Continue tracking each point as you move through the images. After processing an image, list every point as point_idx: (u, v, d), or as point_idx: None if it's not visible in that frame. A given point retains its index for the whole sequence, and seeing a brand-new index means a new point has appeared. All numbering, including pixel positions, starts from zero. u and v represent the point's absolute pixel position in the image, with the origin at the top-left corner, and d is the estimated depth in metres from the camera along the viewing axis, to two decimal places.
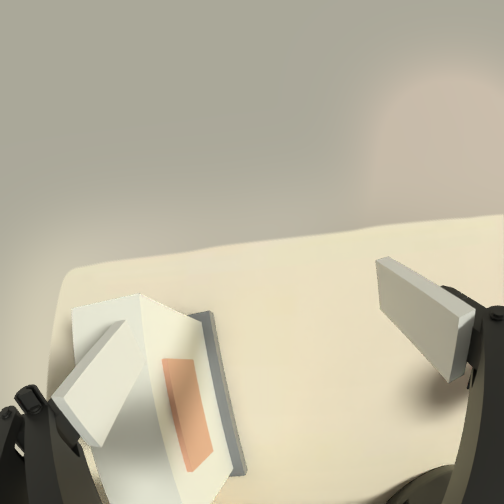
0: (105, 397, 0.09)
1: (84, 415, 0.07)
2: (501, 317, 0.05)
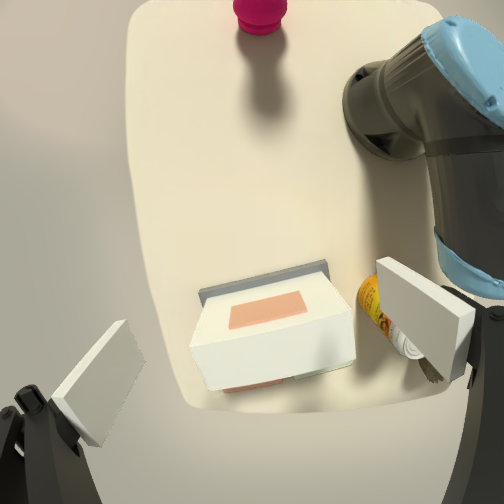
0: (105, 397, 0.09)
1: (84, 415, 0.07)
2: (501, 317, 0.05)
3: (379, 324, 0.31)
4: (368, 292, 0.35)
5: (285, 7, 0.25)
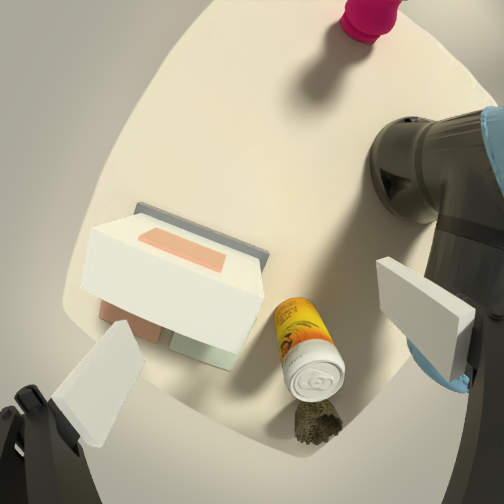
0: (105, 397, 0.09)
1: (84, 415, 0.07)
2: (501, 317, 0.05)
3: (281, 343, 0.29)
4: (288, 309, 0.34)
5: (388, 28, 0.24)
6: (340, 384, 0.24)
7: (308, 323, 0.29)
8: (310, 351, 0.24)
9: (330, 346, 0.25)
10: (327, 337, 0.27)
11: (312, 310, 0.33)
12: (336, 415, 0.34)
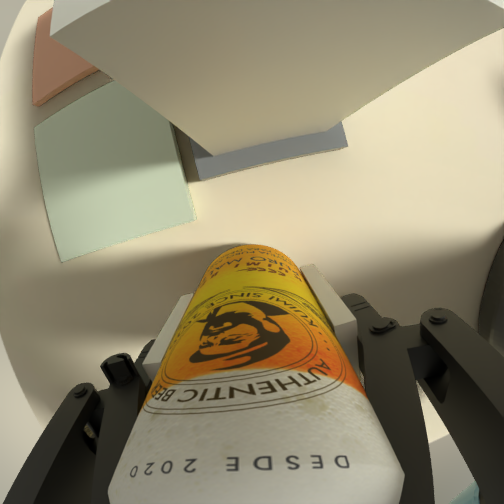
0: None
1: None
2: (383, 329, 0.07)
3: (220, 309, 0.08)
4: (281, 263, 0.13)
5: None
6: None
7: None
8: (388, 465, 0.03)
9: None
10: None
11: None
12: None
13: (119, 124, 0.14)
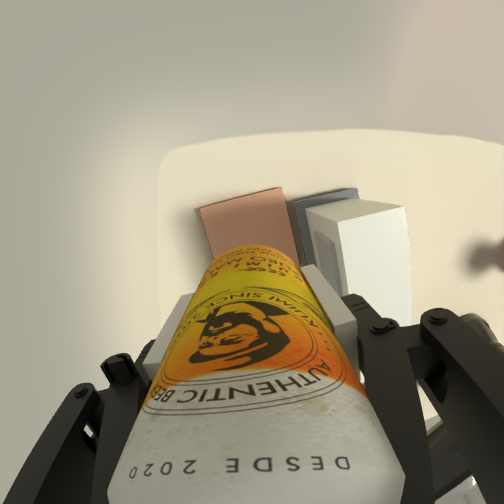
0: None
1: None
2: (383, 329, 0.07)
3: (220, 309, 0.08)
4: (281, 263, 0.13)
5: None
6: None
7: (333, 332, 0.08)
8: (388, 466, 0.03)
9: None
10: None
11: None
12: None
13: None
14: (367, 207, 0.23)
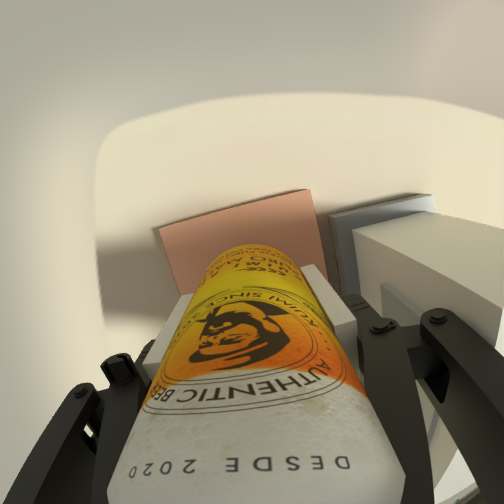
0: None
1: None
2: (383, 329, 0.07)
3: (220, 308, 0.08)
4: (281, 262, 0.13)
5: None
6: None
7: (333, 331, 0.08)
8: (389, 465, 0.03)
9: None
10: None
11: None
12: None
13: None
14: (503, 245, 0.08)
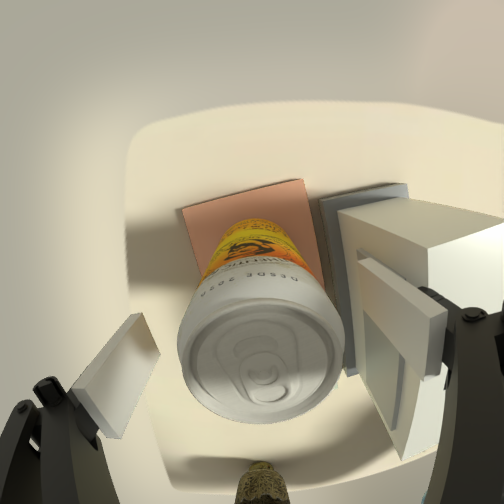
0: (124, 388, 0.10)
1: (104, 406, 0.08)
2: (474, 318, 0.06)
3: (237, 243, 0.14)
4: (274, 227, 0.19)
5: None
6: (287, 416, 0.09)
7: None
8: (320, 291, 0.09)
9: None
10: None
11: None
12: (289, 503, 0.25)
13: None
14: (449, 216, 0.12)
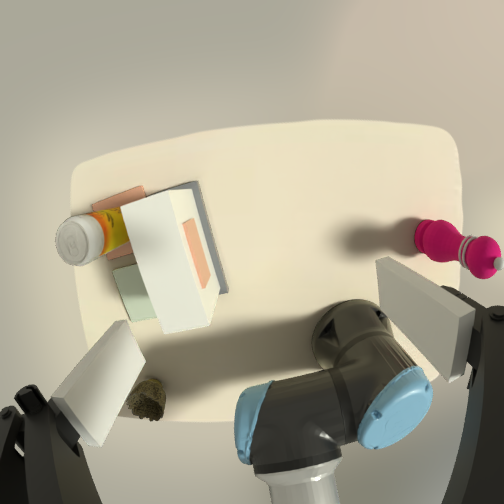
0: (105, 397, 0.09)
1: (84, 415, 0.07)
2: (501, 317, 0.05)
3: None
4: (118, 209, 0.38)
5: (436, 261, 0.39)
6: (80, 262, 0.28)
7: (111, 219, 0.33)
8: (86, 220, 0.28)
9: (100, 235, 0.30)
10: (107, 234, 0.31)
11: None
12: (163, 409, 0.43)
13: None
14: None
